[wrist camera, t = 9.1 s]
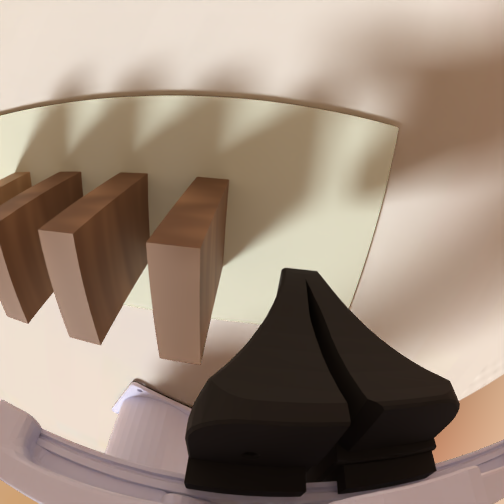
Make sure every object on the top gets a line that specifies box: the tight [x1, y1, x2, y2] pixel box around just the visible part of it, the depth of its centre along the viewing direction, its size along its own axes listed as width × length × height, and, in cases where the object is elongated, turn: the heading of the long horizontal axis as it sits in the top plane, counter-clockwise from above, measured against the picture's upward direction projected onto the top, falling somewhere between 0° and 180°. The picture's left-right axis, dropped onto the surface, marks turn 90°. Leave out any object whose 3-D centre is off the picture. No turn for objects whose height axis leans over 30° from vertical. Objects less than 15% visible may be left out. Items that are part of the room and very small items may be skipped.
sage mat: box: [0, 96, 399, 325], centre depth 16 cm, size 30×13×1 cm, turn 84°
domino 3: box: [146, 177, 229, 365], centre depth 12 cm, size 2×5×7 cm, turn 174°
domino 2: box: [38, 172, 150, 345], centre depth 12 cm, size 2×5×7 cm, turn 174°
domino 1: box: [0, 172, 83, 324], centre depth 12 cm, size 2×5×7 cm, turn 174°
